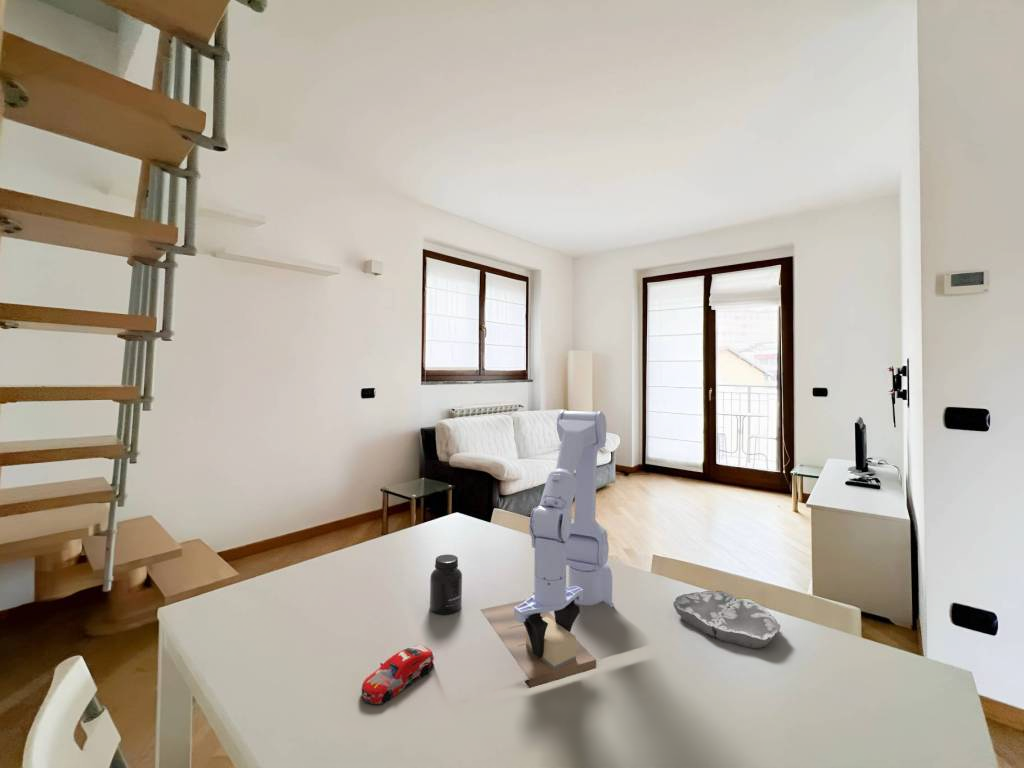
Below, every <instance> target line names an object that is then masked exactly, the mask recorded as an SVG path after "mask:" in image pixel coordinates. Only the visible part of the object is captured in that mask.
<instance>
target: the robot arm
mask: <svg viewBox="0 0 1024 768" xmlns="http://www.w3.org/2000/svg"><path fill="white" fill-rule="evenodd" d="M556 418H557V419H556V431H557V434H558V435H557V436H558V438H559V441H560V447H559V452H558V456H557V457H558V458H557V462H556V468H555V470H552V471H550V473H549V474H548V475H547V479H546V481H545V485H544V488H543V492H542V495H541V499H540V502H539V505H538V506H537V507H534V508H533V509H532V511H531V514H530V518H529V524H528V528H529V529H528V530H529V535H530V537H531V547H532V548H534V570H533V571H534V586H533V587H534V588H533V589H534V590H533V592H532V596H530V597H529V598H527V599H525V600H526V601H525V602H524V603H522V604H521V605H519V606H516V607H514V618H515V619H516V620H517V621H518V622H520V623H524V625H525V627H526V630H527V632H528V635H529V638H530V642H531V646H532V651H533V653H534V654H535V655H536V656H537V657H539V658H541V657H543V652H544V637H545V632H546V628H547V626H548V623H547V622H545V621H544V620H542V616H540V613H543V612H549V613H550V612H553V613H554V618H555V622H556V623H557V624H559V625H560V626H561V627H563V628H564V629H566V630H567V631H569V632H570V633H571V631H572V628H573V625H574V623H575V621H576V619H577V617H578V615H580V611H581V610H580V606H579V605H581V606H594V605H597V604H599V603H601V602H604V603H605V604H606V605H608V606H609V607H610V608H614V607H615V604H614V602H613V573H612V569H611V567H610V566H609V564H608V559H609V553H610V552H609V549H610V546H609V542H608V541H609V540H608V538H609V537H608V530H607V529H605V528H604V526H602V525H601V524H600V523H599V522H597V520H596V509H597V501H596V500H597V468H598V467H597V464H598V460H597V459H598V454H599V453H598V452H599V449H603V448H605V447H606V442H607V419H606V414H604V413H603V411H601V410H599V411H586V410H585V411H582V410H581V411H580V410H579V411H578V410H577V411H576V410H565V409H562V410H561V411H560V412H559V414H558V416H557V417H556ZM573 501H574V513H573V510H572V506H573ZM573 514H574V517H573ZM572 518H573V520H572ZM567 566H568V587H567Z"/></svg>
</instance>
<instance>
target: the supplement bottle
mask: <svg viewBox="0 0 1024 768" xmlns="http://www.w3.org/2000/svg"><path fill="white" fill-rule="evenodd" d="M458 558H459V557H457V555H454V554H442V555H439V556H436V558H435V562H434V563H435V564H434V568H435V569H434V570H433V571H432V572H431V574H430V579H429V580H430V582H429V583H430V585H429V588H430V589H429V611H430V612H431V613H432V614H435V615H437V616H450V615H453V614H454V615H455V614H456V613H458V612H459V611H461V609H462V608H463V607H462V606H463V605H462V603H463V601H462V600H463V599H462V598H463V596H462V595H463V574H462V571H461V569H459V568H458V567H459V560H458Z"/></svg>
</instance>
